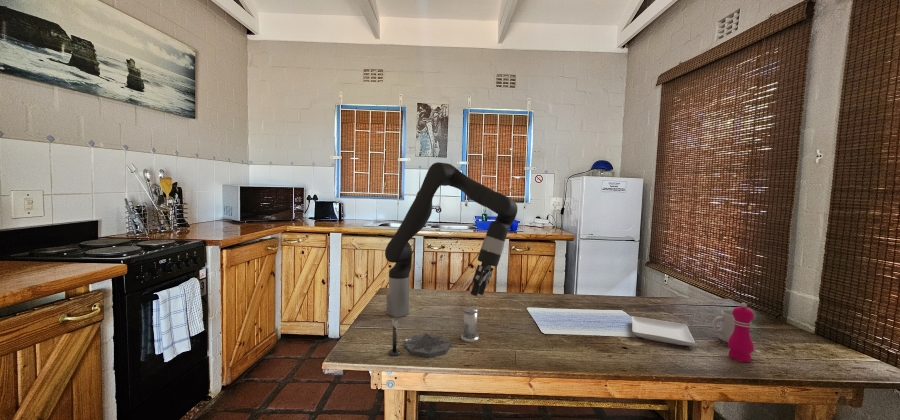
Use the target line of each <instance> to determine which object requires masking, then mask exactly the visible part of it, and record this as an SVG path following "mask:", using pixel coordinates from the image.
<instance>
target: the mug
mask: <svg viewBox="0 0 900 420" xmlns="http://www.w3.org/2000/svg"><path fill="white" fill-rule="evenodd" d="M732 312H733V309H729V310H728V309H723V310H721V311H720V315H719V316H716V317H714V319H713V321H712V329H713V332H714V333H715V334H719V336H718V337H719V339H720V340H721V341H723V342H726V343H728V340H729V338H730V336H731V335H732V333H733V332H734V328H735V324H734V323H733V322H734V319H735V318H734V317H733V315H732ZM719 321H720V322H719ZM718 322H719V323H720V324H719V329H718V328H717V323H718Z"/></svg>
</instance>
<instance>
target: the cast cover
mask: <svg viewBox="0 0 900 420" xmlns="http://www.w3.org/2000/svg"><path fill="white" fill-rule="evenodd" d="M462 311H463V319H462V320H463V326H462V327H463V329H462V331H463V332H462V334H461V335H460V340H461V341H462V342H465V343H468V344H469V343H472V344H473V343H476V342H478V341H479V335H478V334H477V333H478V332H477V330H478V329H477V328H478V312H479V308H478V307H476V306H471V305H470V306H463V307H462Z"/></svg>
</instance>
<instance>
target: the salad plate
mask: <svg viewBox="0 0 900 420" xmlns="http://www.w3.org/2000/svg"><path fill="white" fill-rule="evenodd" d="M630 320H631V331H632V334H633V335H635V336H637V337H639V338H641V337H642V339H645V340H650V341H655V342H660V343H661V342H662V343H667V344H671V345H678V346H692V345H694V344H695V343H696V341H695V339H694V337H693V335H692V334H691V331H690V329H689V327H688V326H687V324H684V323H679V322H672V321H666V320H660V319H654V318H648V317H641V316H635V315H633V316H632V315H631V317H630Z"/></svg>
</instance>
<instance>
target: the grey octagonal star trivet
mask: <svg viewBox="0 0 900 420" xmlns="http://www.w3.org/2000/svg"><path fill="white" fill-rule="evenodd" d="M407 339H411V340H410V341H404V342H403V349H404V350H405V351H406V352H408V354H409V355H410V356H414V357H415V356H416V357H421V358H428V359H429V358H433V357H440V356H443V355H444V356H445V355H446V354H448V352H449V350H450V348H451V347H452V341H451V340H449V339H448V338H447V337H445V336H444V335H443V334H436V333H435V334H433V333H428V332H425V333H420V334H416V335H410V336H409V337H408V338H407Z"/></svg>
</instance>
